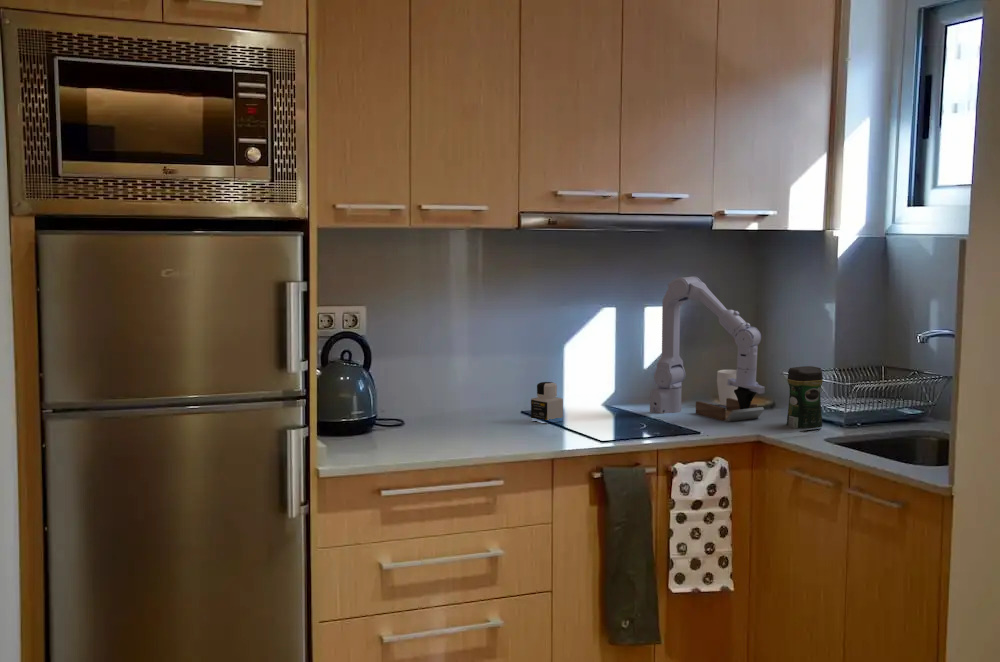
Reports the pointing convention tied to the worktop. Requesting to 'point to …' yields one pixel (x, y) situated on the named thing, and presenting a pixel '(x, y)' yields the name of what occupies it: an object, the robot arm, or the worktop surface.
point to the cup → (723, 388)
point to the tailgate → (745, 414)
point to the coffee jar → (805, 398)
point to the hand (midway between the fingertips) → (744, 413)
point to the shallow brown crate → (719, 409)
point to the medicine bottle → (546, 402)
